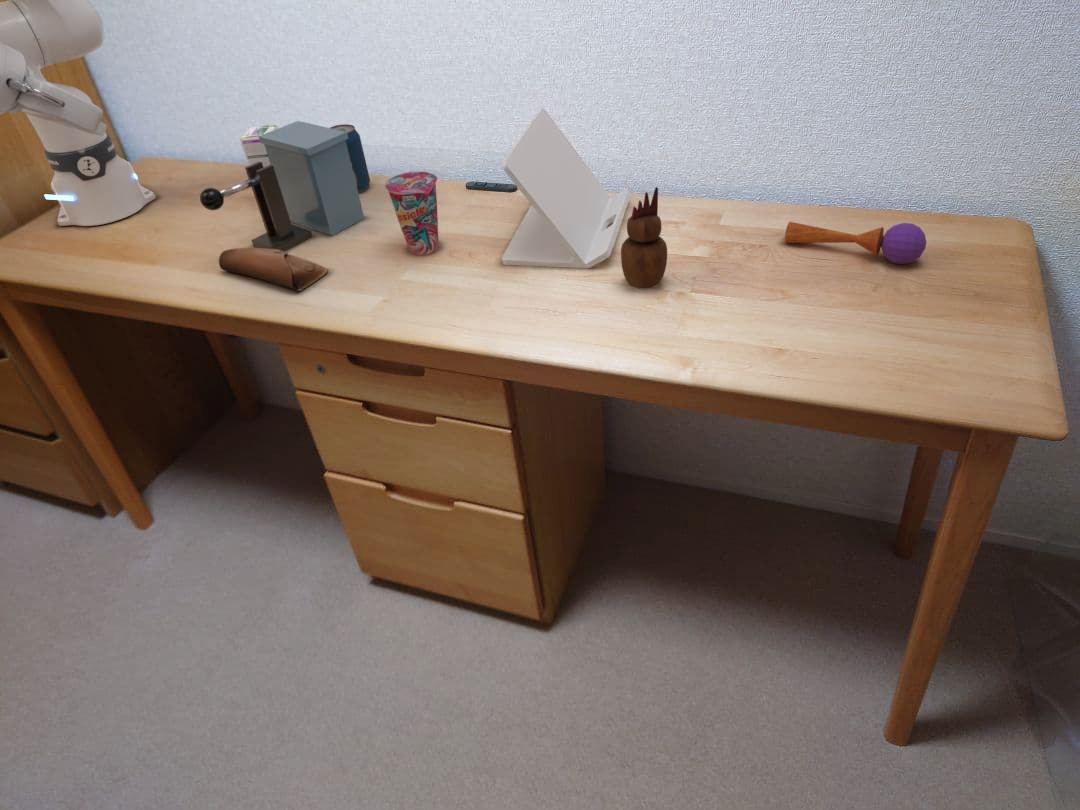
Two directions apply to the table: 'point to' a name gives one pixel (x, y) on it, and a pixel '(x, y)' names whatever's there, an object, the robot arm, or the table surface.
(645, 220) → the wooden figurine
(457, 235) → the table surface
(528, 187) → the tablet stand
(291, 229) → the bracket
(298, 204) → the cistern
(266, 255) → the sunglasses case
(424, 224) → the cup
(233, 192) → the flush lever
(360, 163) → the soda can
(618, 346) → the table surface
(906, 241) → the kendama
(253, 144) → the syrup box
